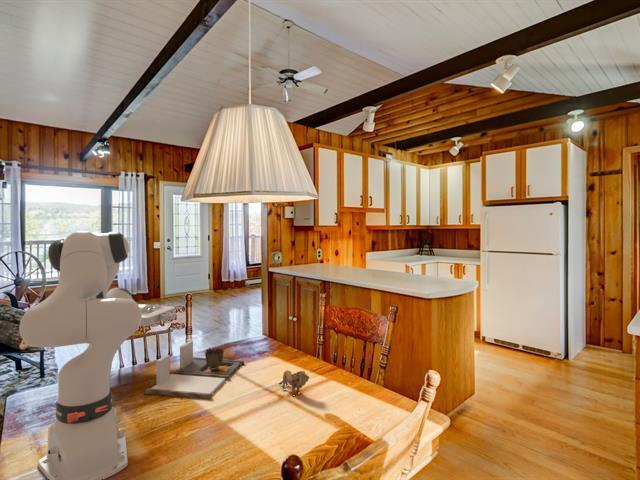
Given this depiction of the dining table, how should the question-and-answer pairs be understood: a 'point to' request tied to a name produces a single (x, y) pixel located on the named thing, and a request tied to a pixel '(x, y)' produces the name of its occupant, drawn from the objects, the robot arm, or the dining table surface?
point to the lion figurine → (294, 380)
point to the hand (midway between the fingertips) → (173, 316)
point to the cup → (214, 358)
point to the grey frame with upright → (199, 362)
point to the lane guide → (190, 394)
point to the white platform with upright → (183, 380)
